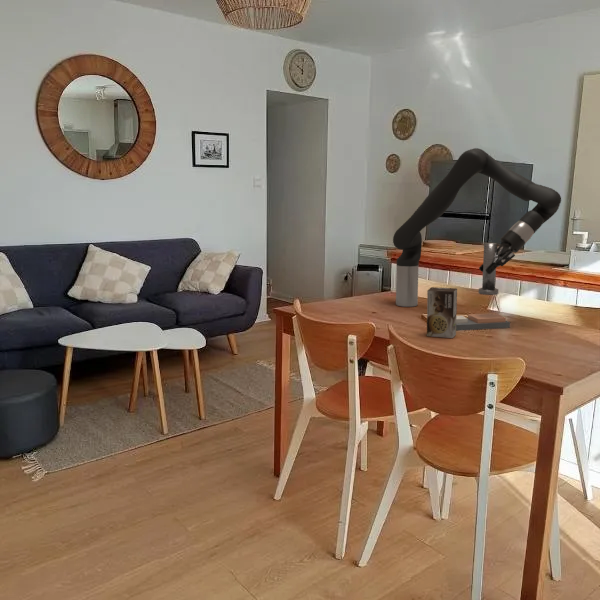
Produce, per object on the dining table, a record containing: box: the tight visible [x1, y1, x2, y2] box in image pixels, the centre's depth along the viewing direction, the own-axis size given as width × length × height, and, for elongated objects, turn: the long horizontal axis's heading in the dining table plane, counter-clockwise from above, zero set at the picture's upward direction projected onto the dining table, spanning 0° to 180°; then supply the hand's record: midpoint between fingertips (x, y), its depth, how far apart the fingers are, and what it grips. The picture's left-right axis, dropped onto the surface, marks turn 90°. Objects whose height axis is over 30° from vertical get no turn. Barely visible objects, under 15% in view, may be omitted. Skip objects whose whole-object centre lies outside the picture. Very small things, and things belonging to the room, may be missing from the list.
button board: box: [456, 317, 511, 332], centre depth 211 cm, size 10×22×2 cm, turn 99°
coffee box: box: [426, 286, 458, 339], centre depth 197 cm, size 9×6×16 cm
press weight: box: [478, 242, 499, 296], centre depth 208 cm, size 7×7×18 cm
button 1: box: [456, 315, 468, 324], centre depth 209 cm, size 5×5×2 cm
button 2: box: [467, 312, 507, 324], centre depth 211 cm, size 8×11×2 cm
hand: (484, 271), depth 208 cm, fingers closed on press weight, 4 cm apart
